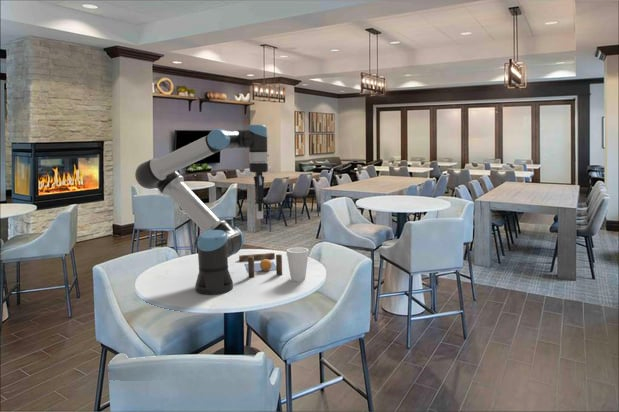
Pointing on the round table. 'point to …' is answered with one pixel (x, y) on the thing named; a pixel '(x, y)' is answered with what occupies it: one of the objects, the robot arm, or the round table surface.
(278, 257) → the post right
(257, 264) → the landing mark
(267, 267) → the ball
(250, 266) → the post left
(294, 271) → the foam cup
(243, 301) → the round table surface
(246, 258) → the bar
